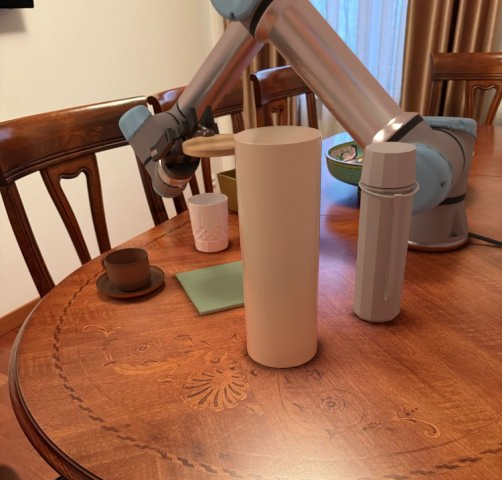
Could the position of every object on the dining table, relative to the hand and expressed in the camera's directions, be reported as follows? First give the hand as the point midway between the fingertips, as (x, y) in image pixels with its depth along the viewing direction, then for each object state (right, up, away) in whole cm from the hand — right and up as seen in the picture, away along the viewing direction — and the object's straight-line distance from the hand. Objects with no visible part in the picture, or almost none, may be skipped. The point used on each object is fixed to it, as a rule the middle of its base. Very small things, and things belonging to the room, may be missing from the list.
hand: (202, 115), depth 83 cm
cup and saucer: (-13, -27, +10) cm, 32 cm away
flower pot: (+6, -5, +43) cm, 44 cm away
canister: (+12, -37, -9) cm, 40 cm away
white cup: (0, -17, +24) cm, 30 cm away
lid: (+1, -4, 0) cm, 4 cm away
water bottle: (+27, -32, -3) cm, 42 cm away
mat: (+4, -26, +9) cm, 28 cm away
